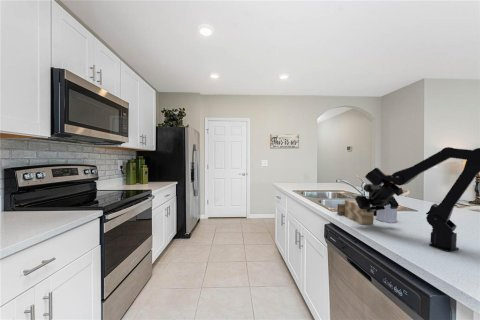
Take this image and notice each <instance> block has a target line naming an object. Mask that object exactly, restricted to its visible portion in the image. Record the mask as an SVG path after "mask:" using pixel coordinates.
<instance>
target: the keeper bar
mask: <svg viewBox="0 0 480 320" xmlns="http://www.w3.org/2000/svg"><path fill="white" fill-rule="evenodd" d="M344 204H345V214H344V216H343V217H345V218H348V219H350V220H352V221H354V222H355V223H358V224H360V225H365V226H366V225H374V217H375V216H374V212H367V209H360V208H359V206H358V204H357V202H356V200H355V199H345V200H344Z"/></svg>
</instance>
